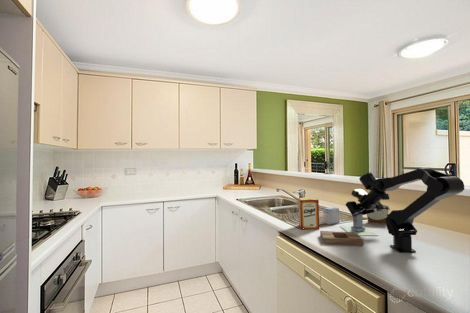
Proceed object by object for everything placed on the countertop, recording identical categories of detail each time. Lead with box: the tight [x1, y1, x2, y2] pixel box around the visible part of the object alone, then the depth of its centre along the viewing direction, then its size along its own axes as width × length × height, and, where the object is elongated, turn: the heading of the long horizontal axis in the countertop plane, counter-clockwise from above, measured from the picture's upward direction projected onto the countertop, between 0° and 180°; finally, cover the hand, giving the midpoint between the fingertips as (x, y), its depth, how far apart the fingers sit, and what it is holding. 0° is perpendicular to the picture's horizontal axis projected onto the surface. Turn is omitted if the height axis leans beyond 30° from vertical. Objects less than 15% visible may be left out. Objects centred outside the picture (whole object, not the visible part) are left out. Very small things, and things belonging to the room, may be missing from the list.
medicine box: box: [322, 206, 340, 225], centre depth 133 cm, size 8×4×9 cm, turn 111°
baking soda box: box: [297, 197, 320, 230], centre depth 126 cm, size 10×6×16 cm
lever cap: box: [351, 214, 366, 232], centre depth 118 cm, size 5×4×12 cm
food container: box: [366, 204, 391, 225], centre depth 132 cm, size 12×6×10 cm, turn 74°
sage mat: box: [340, 225, 379, 237], centre depth 118 cm, size 14×12×1 cm
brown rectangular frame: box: [319, 230, 364, 247], centre depth 105 cm, size 10×16×2 cm, turn 77°
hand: (355, 215), depth 119 cm, fingers closed on lever cap, 3 cm apart
